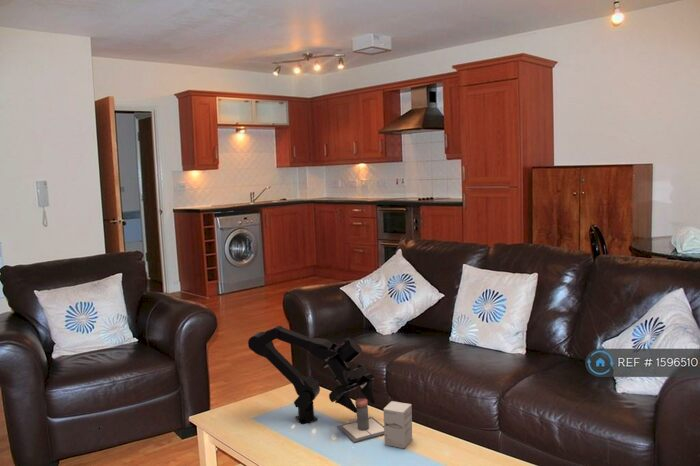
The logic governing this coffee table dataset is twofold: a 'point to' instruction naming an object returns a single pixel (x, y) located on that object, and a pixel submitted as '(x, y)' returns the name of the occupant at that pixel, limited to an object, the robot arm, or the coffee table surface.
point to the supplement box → (398, 424)
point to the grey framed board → (358, 435)
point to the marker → (362, 414)
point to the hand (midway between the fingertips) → (365, 407)
